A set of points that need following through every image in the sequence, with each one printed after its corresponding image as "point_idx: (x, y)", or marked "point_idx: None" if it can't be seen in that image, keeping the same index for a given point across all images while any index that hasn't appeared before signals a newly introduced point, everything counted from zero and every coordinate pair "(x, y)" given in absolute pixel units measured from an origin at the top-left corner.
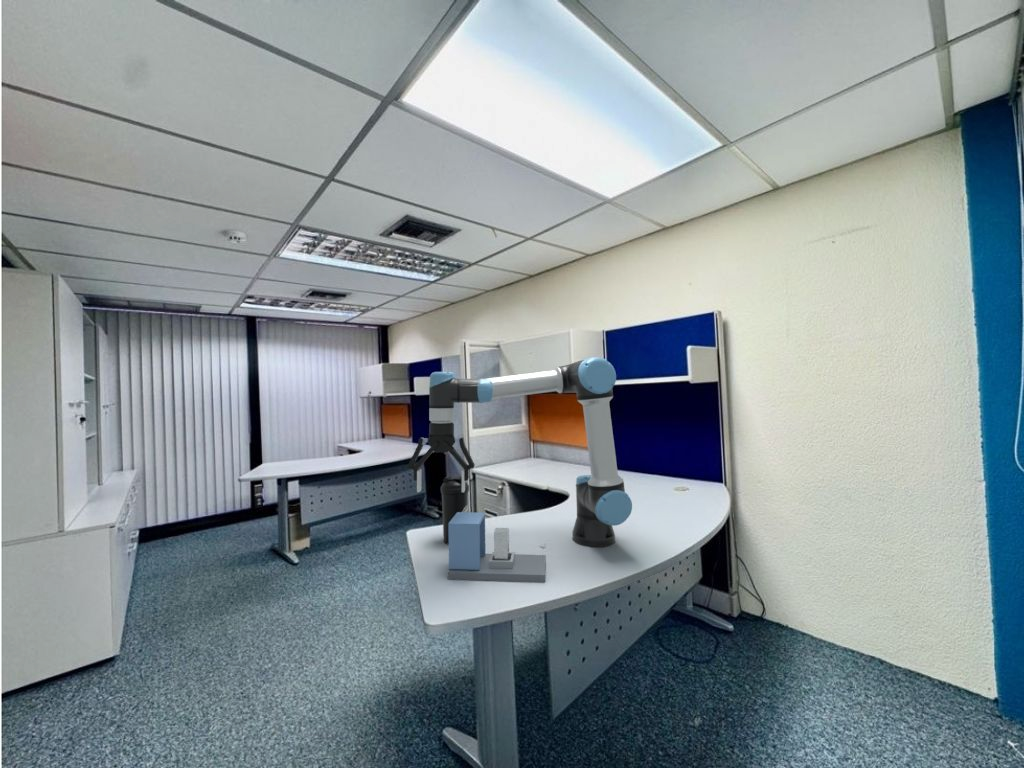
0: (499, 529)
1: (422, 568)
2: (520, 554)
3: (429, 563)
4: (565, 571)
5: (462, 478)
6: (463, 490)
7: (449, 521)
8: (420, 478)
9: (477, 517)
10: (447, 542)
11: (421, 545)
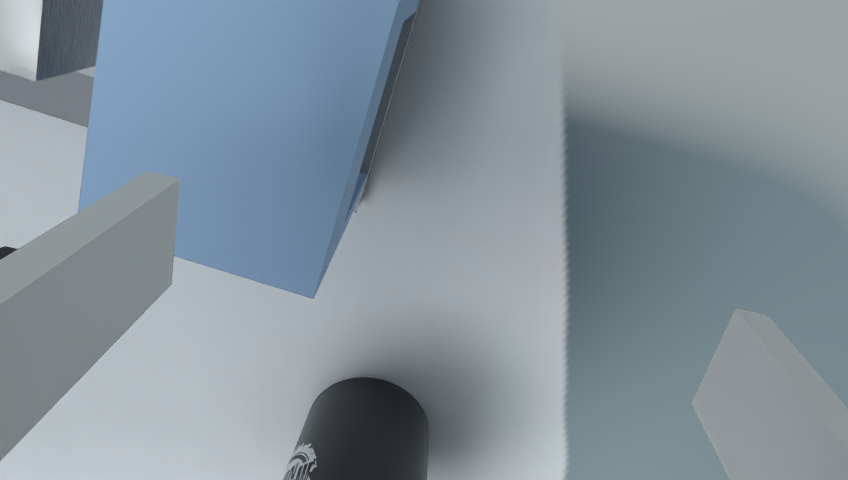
0: (4, 31)
1: (557, 137)
2: (9, 100)
3: (517, 189)
4: None
5: (60, 250)
6: (143, 181)
7: (386, 469)
8: (785, 475)
9: (135, 106)
10: (410, 400)
11: (543, 415)
